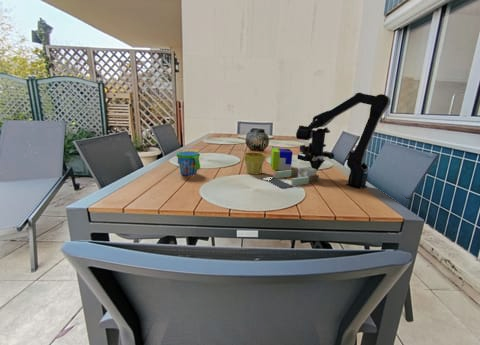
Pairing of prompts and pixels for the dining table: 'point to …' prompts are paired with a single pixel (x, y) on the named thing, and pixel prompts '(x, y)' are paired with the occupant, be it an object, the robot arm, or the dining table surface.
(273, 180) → the trap pit mat
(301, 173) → the grey block
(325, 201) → the dining table surface
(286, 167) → the puzzle toy
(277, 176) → the lane rails
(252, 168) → the plant pot
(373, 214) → the dining table surface
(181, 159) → the snack cup
